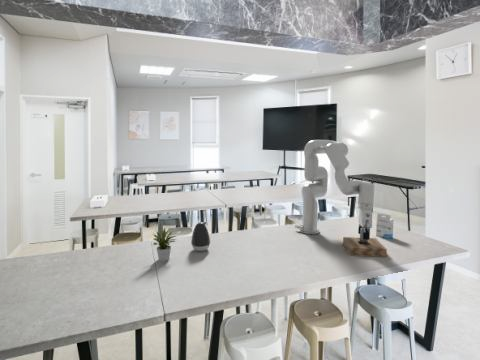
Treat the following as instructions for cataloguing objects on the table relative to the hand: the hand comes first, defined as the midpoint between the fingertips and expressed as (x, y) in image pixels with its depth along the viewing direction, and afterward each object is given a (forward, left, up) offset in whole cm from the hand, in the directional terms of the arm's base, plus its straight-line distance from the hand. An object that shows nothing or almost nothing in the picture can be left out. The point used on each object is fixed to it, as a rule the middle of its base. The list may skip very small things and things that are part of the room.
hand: (363, 236), depth 169 cm
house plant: (-103, -28, -8) cm, 107 cm away
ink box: (+19, +26, -8) cm, 33 cm away
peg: (0, 0, -8) cm, 8 cm away
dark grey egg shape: (-88, -11, -8) cm, 89 cm away
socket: (0, 0, -8) cm, 7 cm away
